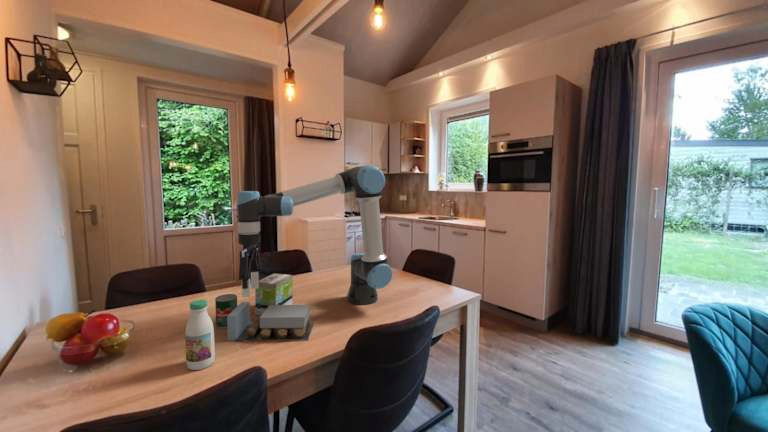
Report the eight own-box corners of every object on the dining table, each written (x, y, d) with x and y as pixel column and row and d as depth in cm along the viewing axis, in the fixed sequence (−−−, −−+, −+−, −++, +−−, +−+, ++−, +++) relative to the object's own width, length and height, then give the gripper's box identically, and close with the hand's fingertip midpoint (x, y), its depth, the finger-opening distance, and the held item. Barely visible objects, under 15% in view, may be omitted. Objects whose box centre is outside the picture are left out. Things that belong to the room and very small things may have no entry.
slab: (310, 314, 130) (310, 304, 129) (304, 327, 118) (304, 317, 117) (269, 314, 129) (269, 305, 128) (259, 328, 117) (259, 317, 116)
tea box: (276, 318, 136) (275, 283, 134) (254, 315, 138) (254, 281, 136) (293, 305, 150) (292, 274, 149) (273, 303, 152) (273, 272, 151)
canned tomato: (215, 329, 124) (214, 302, 123) (215, 321, 131) (214, 295, 130) (238, 326, 127) (237, 299, 126) (237, 318, 134) (236, 292, 133)
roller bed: (314, 322, 132) (314, 313, 131) (308, 340, 117) (308, 330, 116) (249, 323, 130) (249, 314, 130) (234, 341, 115) (234, 331, 115)
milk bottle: (194, 357, 104) (191, 297, 102) (219, 357, 105) (217, 297, 103) (181, 371, 96) (178, 306, 94) (208, 370, 97) (205, 306, 95)
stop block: (250, 323, 130) (249, 301, 129) (236, 340, 116) (235, 316, 115) (242, 323, 129) (241, 301, 128) (227, 340, 115) (227, 316, 115)
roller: (253, 320, 127) (260, 315, 127) (258, 326, 128) (265, 321, 128) (244, 331, 118) (251, 326, 118) (250, 338, 118) (256, 333, 118)
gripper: (249, 228, 129) (250, 283, 132) (226, 237, 108) (228, 302, 110) (268, 228, 130) (269, 283, 132) (249, 237, 109) (251, 302, 111)
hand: (250, 292), depth 121 cm, fingers open, 9 cm apart
